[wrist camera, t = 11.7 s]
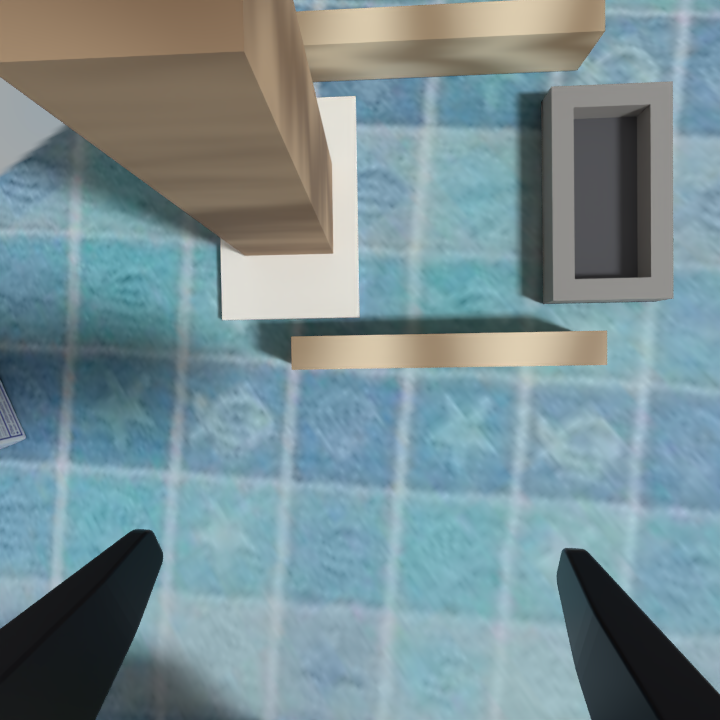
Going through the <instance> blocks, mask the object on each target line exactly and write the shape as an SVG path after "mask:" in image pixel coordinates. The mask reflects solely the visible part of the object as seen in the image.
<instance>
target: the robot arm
mask: <svg viewBox="0 0 720 720" xmlns="http://www.w3.org/2000/svg"><path fill="white" fill-rule="evenodd" d="M162 561H163V552H162V549H161V547H160V545H159V543H158V541H157V539H156V536H155V534H154V533H153V531H151V530H144V529H135V530H133V531H131V532H129V533H128V534H126V535H125V536H124V537H122V538H121V539H120V540H118V541H117V542H116V543H114V544H113V545H112V546H110V547H109V548H108V549H106V550H105V551H104V552H102V553H101V554H100V555H98V556H97V557H96V558H94V559H93V560H92V561H90V562H89V563H88V564H86V565H85V566H84V567H82V568H81V569H80V570H78V571H77V572H76V573H74V574H73V575H72V576H70V577H69V578H68V579H66V580H65V581H64V582H62V583H61V584H60V585H58V586H57V587H56V588H54V589H53V590H52V591H50V592H49V593H48V594H46V595H45V596H44V597H42V598H41V599H40V600H38V601H37V602H36V603H34V604H33V605H32V606H30V607H29V608H28V609H26V610H25V611H24V612H22V613H21V614H20V615H18V616H17V617H16V618H14V619H13V620H12V621H10V622H9V623H8V624H6V625H5V626H4V627H2V628H1V629H0V720H95V719H96V717H97V715H98V713H99V711H100V709H101V706H102V704H103V702H104V700H105V698H106V696H107V694H108V692H109V690H110V687H111V685H112V683H113V681H114V679H115V677H116V675H117V673H118V671H119V668H120V666H121V664H122V662H123V660H124V658H125V656H126V654H127V652H128V649H129V647H130V645H131V643H132V641H133V638H134V636H135V634H136V632H137V629H138V627H139V624H140V622H141V619H142V616H143V614H144V611H145V608H146V606H147V603H148V600H149V597H150V595H151V592H152V589H153V587H154V584H155V581H156V578H157V576H158V573H159V570H160V568H161V565H162ZM557 585H558V590H559V595H560V600H561V604H562V609H563V614H564V618H565V623H566V628H567V632H568V637H569V642H570V646H571V651H572V655H573V660H574V664H575V668H576V672H577V675H578V679H579V682H580V686H581V689H582V692H583V695H584V698H585V701H586V704H587V707H588V711H589V714H590V717H591V720H720V694H719V693H718V692H717V691H716V690H715V689H714V688H713V686H712V685H711V684H710V683H709V682H708V681H707V680H706V679H705V678H704V677H703V676H702V675H701V673H700V672H699V671H698V670H697V669H696V668H695V667H694V666H693V665H692V664H691V663H690V662H689V661H688V659H687V658H686V657H685V656H684V655H683V654H682V653H681V652H680V651H679V650H678V649H677V648H676V646H675V645H674V644H673V643H672V642H671V641H670V640H669V639H668V638H667V637H666V636H665V635H664V634H663V632H662V631H661V630H660V629H659V628H658V627H657V626H656V625H655V624H654V623H653V622H652V621H651V619H650V618H649V617H648V616H647V615H646V614H645V613H644V612H643V611H642V610H641V609H640V608H639V607H638V605H637V604H636V603H635V602H634V601H633V600H632V599H631V598H630V597H629V596H628V595H627V594H626V592H625V591H624V590H623V589H622V588H621V587H620V586H619V585H618V584H617V583H616V582H615V581H614V580H613V578H612V577H611V576H610V575H609V574H608V573H607V572H606V571H605V570H604V569H603V568H602V567H601V565H600V564H599V563H598V562H597V561H596V560H595V559H594V558H593V557H592V556H591V555H590V554H589V553H588V552H587V551H586V550H584V549H576V548H565V549H563V550H562V553H561V557H560V561H559V566H558V570H557Z"/></svg>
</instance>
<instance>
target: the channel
mask: <svg viewBox="0 0 720 720" xmlns="http://www.w3.org/2000/svg"><path fill="white" fill-rule="evenodd" d="M296 15H297V19H298V23H299V27H300V31H301V36H302V40H303V44H304V48H305V52H306V57H307V61H308V65H309V69H310V73H311V78H312V82H321V81H344V80H367V79H389V78H412V77H435V76H457V75H480V74H503V73H525V72H548V71H570V70H578V68H579V67H580V66H581V64H582V63H583V61H584V60H585V59H586V57H587V56H588V54H589V53H590V52H591V50H592V49H593V47H594V46H595V44H596V43H597V42H598V40H599V39H600V37H601V36H602V35H603V33H604V32H605V0H514V1H494V2H475V3H455V4H436V5H416V6H397V7H377V8H358V9H338V10H319V11H299V12H296ZM291 355H292V370H300V369H365V368H431V367H496V366H561V365H607V331H564V332H511V333H457V334H404V335H350V336H297V337H291Z"/></svg>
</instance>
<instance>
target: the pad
mask: <svg viewBox="0 0 720 720" xmlns="http://www.w3.org/2000/svg"><path fill="white" fill-rule="evenodd" d="M316 99H317V103H318V107H319V111H320V115H321V120H322V124H323V128H324V132H325V136H326V141H327V145H328V149H329V153H330V157H331V162H332V198H333V254H300V255H259V256H245V255H243V254H242V253H241V252H239V251H238V250H236V249H235V248H234V247H232V246H231V245H230V244H228V243H227V242H225V241H224V240H223V239H221V238H220V245H221V288H222V320H265V319H314V318H359V262H358V203H357V144H356V97H355V96H347V97H324V98H316Z"/></svg>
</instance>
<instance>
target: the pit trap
mask: <svg viewBox="0 0 720 720" xmlns="http://www.w3.org/2000/svg"><path fill="white" fill-rule="evenodd" d="M541 119H542V232H543V304H560V303H607V302H654V301H661V300H667V299H672V298H673V82H650V83H627V84H603V85H580V86H556V87H551V88H550V90H549V91H548V93H547V94H546V96H545V97H544V99H543V100H542V102H541Z"/></svg>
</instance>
